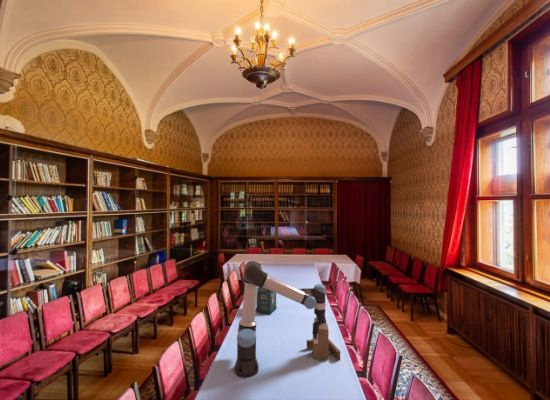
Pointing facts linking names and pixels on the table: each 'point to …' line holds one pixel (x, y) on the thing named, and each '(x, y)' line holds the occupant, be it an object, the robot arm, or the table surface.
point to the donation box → (265, 301)
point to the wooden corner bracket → (331, 348)
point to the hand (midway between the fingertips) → (319, 339)
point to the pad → (316, 358)
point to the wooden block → (321, 342)
